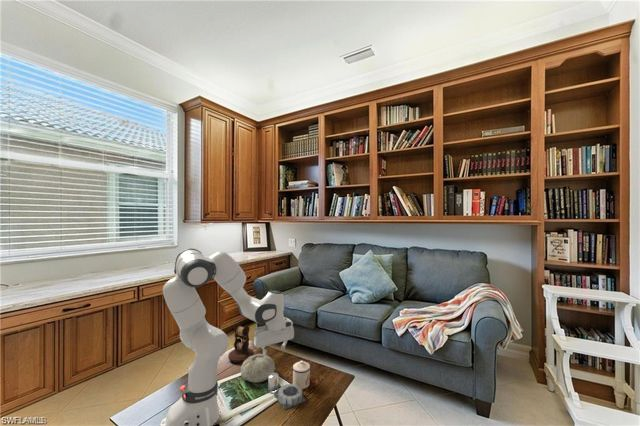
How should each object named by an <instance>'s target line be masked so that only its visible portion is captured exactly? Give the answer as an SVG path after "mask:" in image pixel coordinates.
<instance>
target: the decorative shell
mask: <svg viewBox="0 0 640 426" xmlns="http://www.w3.org/2000/svg"><path fill="white" fill-rule="evenodd" d="M275 369H276V366H275V361H274V359H273V358H272V357H271V356H269V355H268V354H266V355H264V354H263V353H258V354H254V355H253V356H250V357H249V358H247V359H246V360H245V361H244V362H242V363H241V366H240V376H241V378H242V379H243V380H245V381H247V382H250V383H254V384H257V383H261V382H265V381H268V375H269V374H270V373H275Z"/></svg>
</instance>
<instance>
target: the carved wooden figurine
mask: <svg viewBox="0 0 640 426" xmlns="http://www.w3.org/2000/svg"><path fill="white" fill-rule="evenodd" d="M249 334H250V326H249V325H245V326H243V324H242V323H241V322H238V323H237V324H235V326H234V338H235V339H234V342H233V348H234V349H232V350H231V351H230V352H229V353H228V356H227V357H228V361H230V362H232V363H238V364H240V365H242V363H243V362H244V361H245V360H246V359H247V358H249V357H250V356H253V355H255V352H254V350H253V349H252V348H250V337H249V336H250V335H249Z"/></svg>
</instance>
